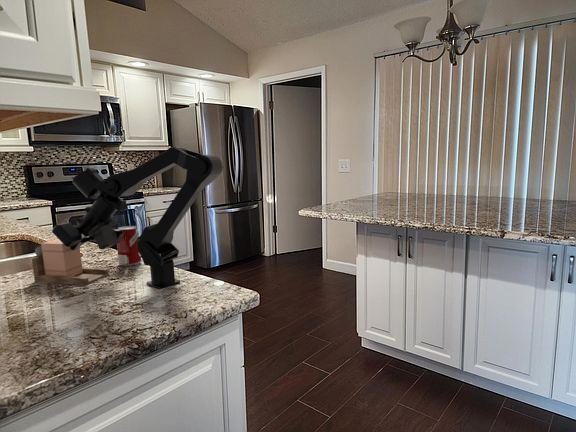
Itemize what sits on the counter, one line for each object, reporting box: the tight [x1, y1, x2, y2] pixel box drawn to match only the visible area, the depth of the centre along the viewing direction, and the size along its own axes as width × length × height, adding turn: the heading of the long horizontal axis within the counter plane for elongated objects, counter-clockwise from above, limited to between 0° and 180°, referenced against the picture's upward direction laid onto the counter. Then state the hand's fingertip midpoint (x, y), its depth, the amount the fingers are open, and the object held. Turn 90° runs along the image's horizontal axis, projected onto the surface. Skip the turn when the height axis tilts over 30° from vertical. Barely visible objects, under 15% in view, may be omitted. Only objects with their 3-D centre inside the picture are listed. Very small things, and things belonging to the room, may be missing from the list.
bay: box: [31, 245, 110, 286], centre depth 107 cm, size 18×9×10 cm, turn 77°
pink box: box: [40, 238, 83, 277], centre depth 108 cm, size 7×6×10 cm
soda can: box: [116, 225, 142, 267], centre depth 120 cm, size 7×7×12 cm
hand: (72, 249), depth 106 cm, fingers closed, pressing on pink box
